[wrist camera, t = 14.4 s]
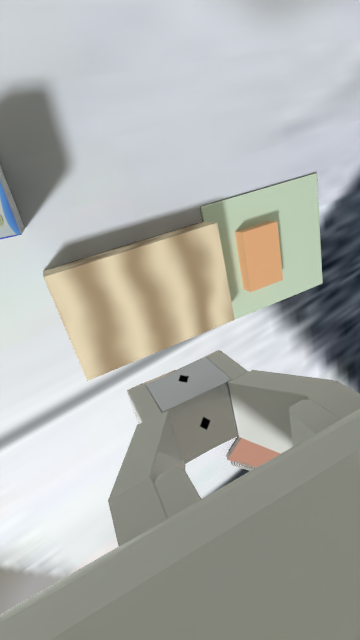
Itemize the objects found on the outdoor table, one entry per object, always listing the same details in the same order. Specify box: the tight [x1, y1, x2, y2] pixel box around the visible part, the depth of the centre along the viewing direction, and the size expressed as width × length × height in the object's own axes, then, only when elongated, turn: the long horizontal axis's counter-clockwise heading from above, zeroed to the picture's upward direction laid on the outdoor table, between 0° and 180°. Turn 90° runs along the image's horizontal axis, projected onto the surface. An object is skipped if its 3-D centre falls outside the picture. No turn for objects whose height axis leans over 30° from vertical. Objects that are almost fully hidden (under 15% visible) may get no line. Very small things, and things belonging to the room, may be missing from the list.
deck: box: [43, 222, 235, 381], centre depth 43 cm, size 22×14×4 cm, turn 104°
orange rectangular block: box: [235, 221, 283, 292], centre depth 48 cm, size 6×9×2 cm, turn 14°
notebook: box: [226, 436, 280, 471], centre depth 66 cm, size 27×17×2 cm, turn 56°
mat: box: [201, 173, 322, 319], centre depth 50 cm, size 20×18×1 cm
